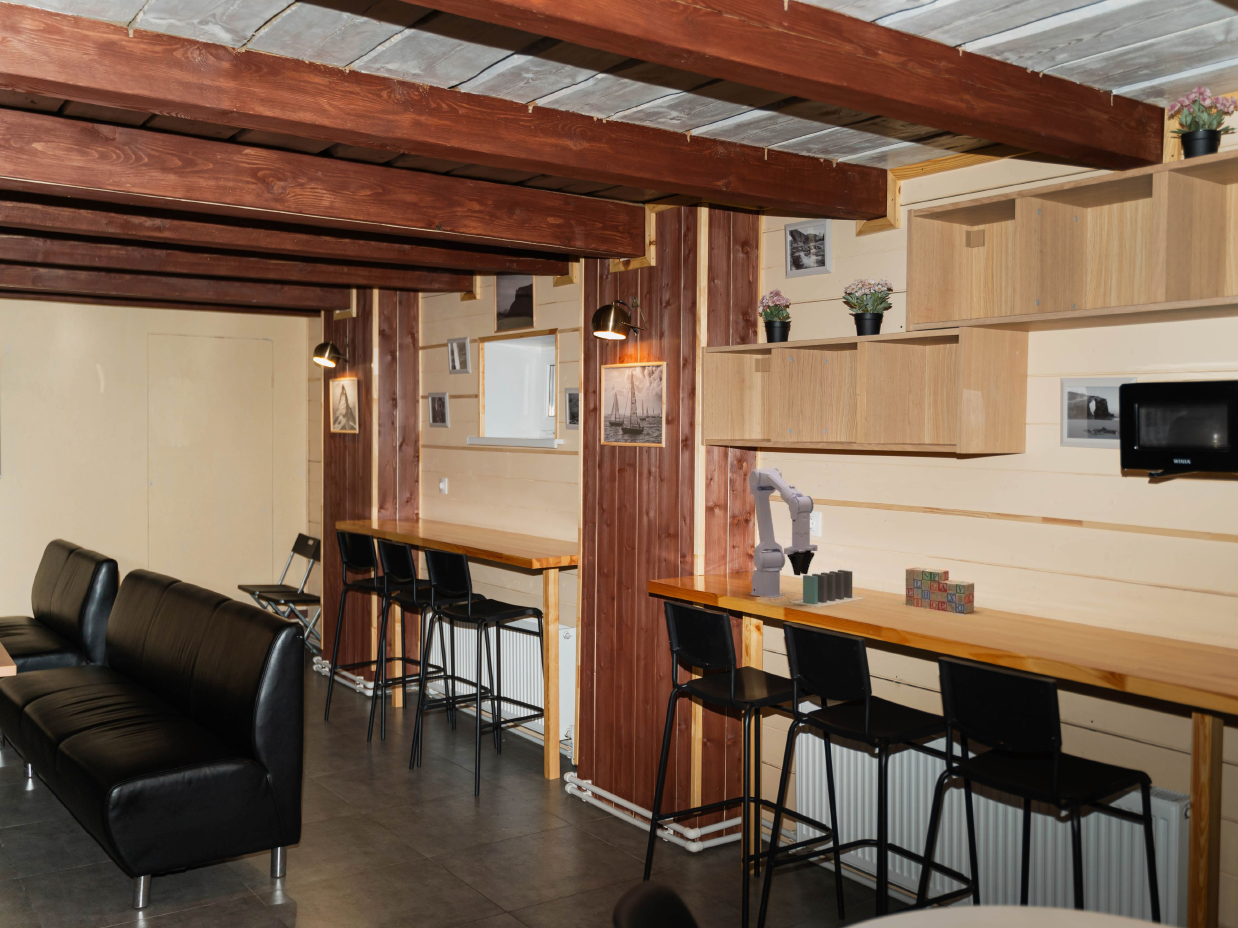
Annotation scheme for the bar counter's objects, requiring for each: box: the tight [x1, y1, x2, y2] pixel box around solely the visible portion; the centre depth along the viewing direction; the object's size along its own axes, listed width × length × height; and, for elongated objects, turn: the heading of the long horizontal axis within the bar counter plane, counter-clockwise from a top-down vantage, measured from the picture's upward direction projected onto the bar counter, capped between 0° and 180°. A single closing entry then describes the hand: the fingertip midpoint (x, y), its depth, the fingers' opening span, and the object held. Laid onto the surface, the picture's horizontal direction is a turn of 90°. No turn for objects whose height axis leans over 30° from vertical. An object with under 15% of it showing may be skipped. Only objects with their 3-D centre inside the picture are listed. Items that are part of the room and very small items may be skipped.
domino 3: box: [820, 572, 836, 601], centre depth 357 cm, size 2×5×9 cm, turn 40°
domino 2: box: [811, 573, 827, 603], centre depth 354 cm, size 2×5×9 cm, turn 40°
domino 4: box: [828, 570, 844, 600], centre depth 359 cm, size 2×5×9 cm, turn 40°
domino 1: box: [802, 574, 818, 604], centre depth 351 cm, size 2×5×9 cm, turn 39°
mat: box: [790, 595, 865, 608], centre depth 357 cm, size 12×25×1 cm, turn 130°
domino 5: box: [837, 569, 853, 598], centre depth 362 cm, size 2×5×9 cm, turn 40°
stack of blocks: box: [905, 566, 975, 615], centre depth 343 cm, size 21×6×12 cm, turn 42°
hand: (800, 574), depth 347 cm, fingers open, 3 cm apart
